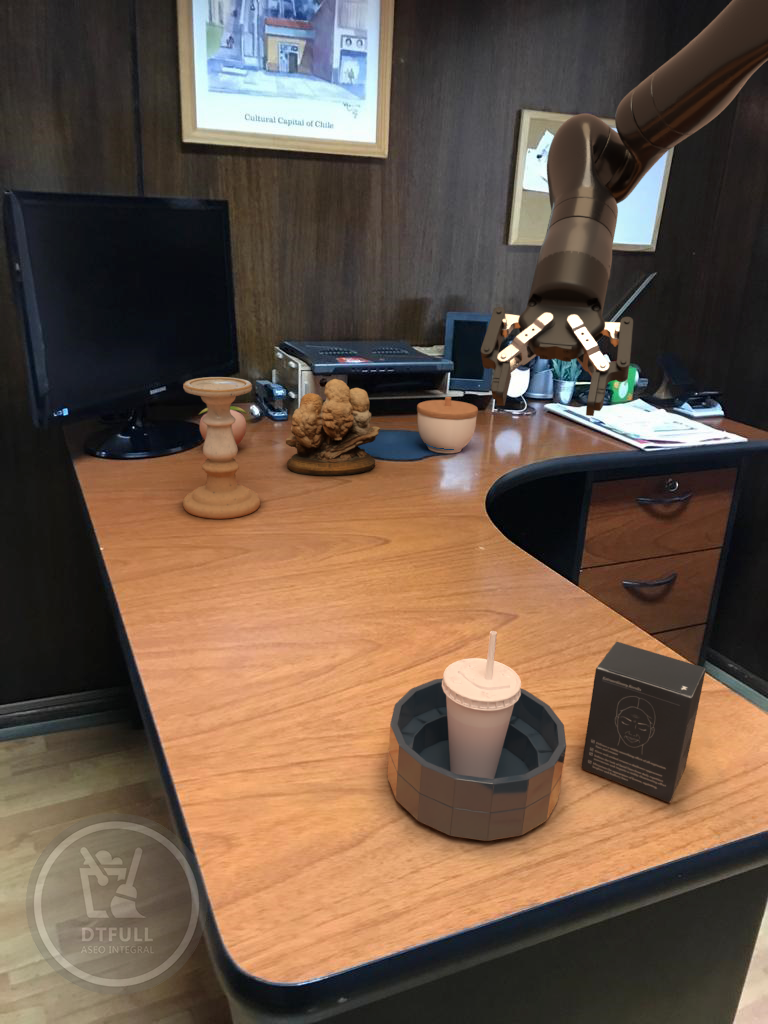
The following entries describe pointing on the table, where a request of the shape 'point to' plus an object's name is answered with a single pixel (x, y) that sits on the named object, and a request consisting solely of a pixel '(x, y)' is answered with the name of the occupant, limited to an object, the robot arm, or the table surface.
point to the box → (642, 719)
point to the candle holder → (220, 453)
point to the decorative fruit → (237, 427)
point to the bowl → (467, 799)
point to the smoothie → (479, 711)
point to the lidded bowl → (446, 424)
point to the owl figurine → (332, 432)
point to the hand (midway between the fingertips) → (544, 406)
